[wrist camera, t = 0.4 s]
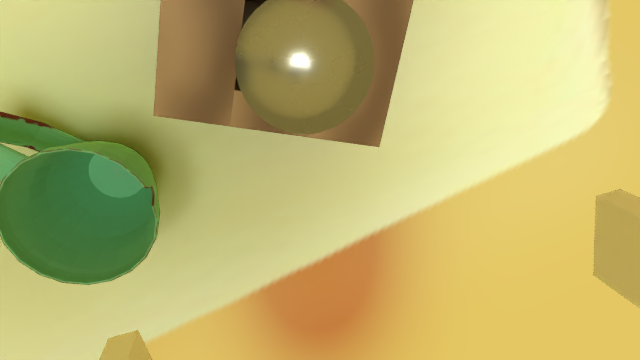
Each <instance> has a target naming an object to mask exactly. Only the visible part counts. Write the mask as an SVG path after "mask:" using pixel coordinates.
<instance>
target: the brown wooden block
mask: <svg viewBox="0 0 640 360" xmlns="http://www.w3.org/2000/svg"><path fill="white" fill-rule="evenodd" d="M266 1H267V0H161V5H160V21H159V38H158V54H157V70H156V87H155V103H154V116H159V117H167V118H174V119H181V120H188V121H195V122H203V123H210V124H217V125H224V126H231V127H238V128H246V129H253V130H260V131H267V132H274V133H282V134H289V135H296V136H303V137H310V138H317V139H325V140H332V141H339V142H346V143H353V144H361V145H368V146H375V147H379V146H380V141H381V137H382V133H383V129H384V124H385V120H386V116H387V111H388V107H389V103H390V99H391V94H392V90H393V86H394V81H395V77H396V73H397V69H398V64H399V60H400V56H401V52H402V47H403V43H404V39H405V34H406V30H407V26H408V22H409V17H410V13H411V9H412V4H413V0H343V1H344V2H346V3H347V4H348V5H349V6H350V7H351V8H353V10H354V11H355V12H356V13H357V14H358V15H359V17H360V18H361V19H362V21H363V22H364V24H365V26H366V28H367V30H368V32H369V35H370V38H371V41H372V45H373V50H374V72H373V78H372V81H371V85H370V88H369V90H368V92H367V95H366V96H365V98H364V100H363V102H362V103H361V105H360V106H359V107H358V109H357V110H356V111H355V112H354V113H353V114H352V115H351V116H350V117H349V118H347V119H346V120H345V121H344V122H342V123H341V124H339V125H337V126H335V127H333V128H331V129H329V130H326V131H323V132H319V133H313V134H295V133H290V132H286V131H283V130H280V129H278V128H276V127H274V126H272V125H270V124H268V123H267V122H265V121H264V120H263V119H261V118H260V117H259V116H258V115H257V114H256V113H255V112H254V111H253V110H252V108H251V107H250V106H249V104H248V103H247V101H246V100H245V98H244V96H243V94H242V92H241V90H240V87H239V84H238V81H237V76H236V69H235V53H236V47H237V42H238V38H239V35H240V33H241V30H242V28H243V26H244V24H245V23H246V21H247V20H248V18H249V17H250V16H251V14H252V13H253V12H254V11H255V10H256V9H257V8H258V7H259V6H261V5H262V4H263V3H264V2H266Z"/></svg>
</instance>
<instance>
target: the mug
mask: <svg viewBox="0 0 640 360" xmlns="http://www.w3.org/2000/svg"><path fill="white" fill-rule="evenodd" d="M0 142H2V143H7V144H13V145H18V146H24V147H28V148H31V149H33V150H36V151H38V153H36V154H34V155H32V156H30V157H28V156H26V155H24V154H21V153H19V152H17V151H15V150H13V149H11V148H9V147H7V146H4V145H2V144H0V182H1V184H0V236H1V239H2V241H3V243H4V245H5V246H6V247H7V248H8V249H9V250H10V252H11V253H12V254H13V255H14V256H15V257H16V258H17V260H18V261H19V262H21V263H22V264H24V265H25V266H27V267H28V268H30V269H32V270H33V271H35V272H36V273H38V274H39V275H42V276H45V277H48V278H51V279H54V280H56V281H59V282H62V283H72V284H84V285H90V284H96V283H102V282H107V281H112V280H114V279H116V278H118V277H120V276H122V275H125V274H127V273H129V272H131V271H132V270H133V269H134V268H135V267H136V266H137V265H139V264H140V263H141V262H142V261H143V260H144V259H145V258H146V257H147V255H148V253H149V251H150V249H151V247H152V246H153V244H154V242H155V240H156V237H157V234H158V226H159V217H160V208H159V201H158V190H157V187H156V183H155V180H154V176H153V173H152V171H151V168H150V167H149V165H148V164H147V162H146V161H145V159H144V158H143V157H142V156H141V155H139V154H138V153H137V152H136V151H135V150H133V149H131V148H129V147H127V146H125V145H122V144H119V143H112V142H105V141H90V142H86V141H83V140H81V139H79V138H77V137H74V136H72V135H70V134H68V133H65V132H63V131H61V130H58V129H56V128H54V127H52V126H49V125H47V124H45V123H42V122H38V121H34V120H30V119H27V118H23V117H19V116H15V115H11V114H7V113H4V112H0Z"/></svg>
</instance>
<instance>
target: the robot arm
mask: <svg viewBox="0 0 640 360" xmlns="http://www.w3.org/2000/svg"><path fill="white" fill-rule="evenodd" d="M593 275H594V276H595V277H597V278H598V279H599V280H601V281H602V282H604V283H605V284H606V285H608V286H609V287H611V288H612V289H614V290H615V291H616V292H618V293H619V294H621V295H622V296H624V297H625V298H626V299H628V300H629V301H630V302H632V303H633V304H635V305H636V306H637V307H639V308H640V198H639V197H637V196H635V195H632V194H630V193H628V192H625V191H623V190H621V189H619V190H615V191H612V192H609V193H605V194H601V195H598V196H596V209H595V240H594V272H593ZM100 360H152V358H151V356H150V354H149V352H148V350H147V348H146V346H145V344H144V342H143V339H142V337H141V335H140V333H139V331H138V330H136V331H133V332H129V333H126V334H122V335H119V336H115V337H112V338H109V339H108V341H107V343H106V345H105V348H104V350H103V352H102V355H101V357H100Z"/></svg>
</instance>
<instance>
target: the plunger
mask: <svg viewBox="0 0 640 360" xmlns="http://www.w3.org/2000/svg"><path fill="white" fill-rule="evenodd" d="M235 69H236V76H237V81H238V84H239V87H240V90H241V92H242V94H243V96H244V98H245V100H246V101H247V103H248V104H249V106H250V107H251V108H252V110H253V111H254V112H255V113H256V114H257V115H258V116H259V117H260V118H261V119H263V120H264V121H265V122H267V123H268V124H270V125H272V126H274V127H276V128H278V129H280V130H283V131H286V132H290V133H295V134H313V133H319V132H323V131H326V130H329V129H331V128H333V127H335V126H337V125H339V124H341V123H342V122H344V121H345V120H346V119H347V118H349V117H350V116H351V115H352V114H353V113H354V112H355V111H356V110H357V109H358V107H359V106H360V105H361V103H362V102H363V100H364V98H365V96H366V95H367V92H368V90H369V88H370V85H371V81H372V78H373V72H374V50H373V45H372V41H371V38H370V35H369V32H368V30H367V28H366V26H365V24H364V22H363V21H362V19H361V18H360V17H359V15H358V14H357V13H356V12H355V11H354V10H353V8H351V7H350V6H349V5H348V4H347V3H346V2H344V1H343V0H267V1H266V2H264V3H263V4H262V5H261V6H259V7H258V8H257V9H256V10H255V11H254V12H253V13H252V14H251V16H250V17H249V18H248V20H247V21H246V23H245V24H244V26H243V28H242V30H241V33H240V35H239V38H238V42H237V47H236V53H235Z"/></svg>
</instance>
